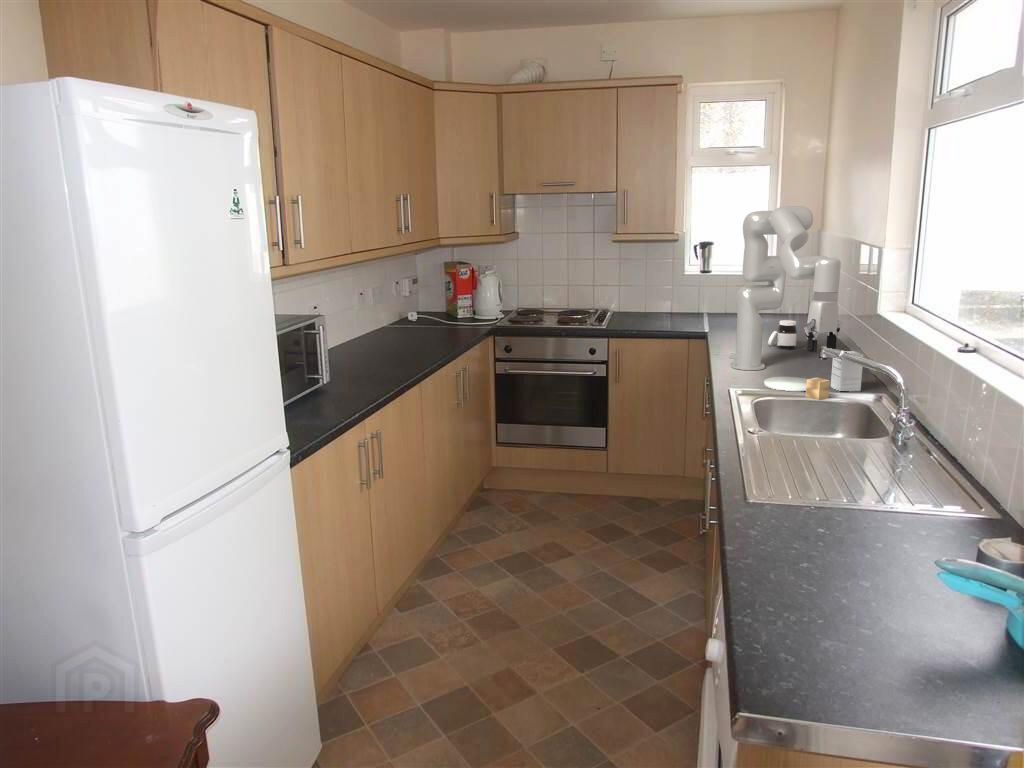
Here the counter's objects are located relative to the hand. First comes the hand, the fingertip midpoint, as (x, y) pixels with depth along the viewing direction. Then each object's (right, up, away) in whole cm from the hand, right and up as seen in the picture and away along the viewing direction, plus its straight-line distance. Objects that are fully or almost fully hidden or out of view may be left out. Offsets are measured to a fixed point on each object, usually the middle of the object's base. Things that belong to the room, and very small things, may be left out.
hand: (821, 350), depth 247 cm
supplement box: (+14, -13, +14) cm, 24 cm away
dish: (-3, -12, +20) cm, 23 cm away
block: (0, -15, +4) cm, 16 cm away
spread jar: (+18, +5, +87) cm, 89 cm away
